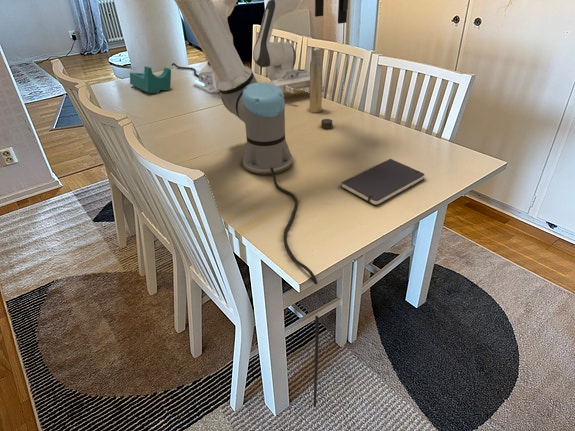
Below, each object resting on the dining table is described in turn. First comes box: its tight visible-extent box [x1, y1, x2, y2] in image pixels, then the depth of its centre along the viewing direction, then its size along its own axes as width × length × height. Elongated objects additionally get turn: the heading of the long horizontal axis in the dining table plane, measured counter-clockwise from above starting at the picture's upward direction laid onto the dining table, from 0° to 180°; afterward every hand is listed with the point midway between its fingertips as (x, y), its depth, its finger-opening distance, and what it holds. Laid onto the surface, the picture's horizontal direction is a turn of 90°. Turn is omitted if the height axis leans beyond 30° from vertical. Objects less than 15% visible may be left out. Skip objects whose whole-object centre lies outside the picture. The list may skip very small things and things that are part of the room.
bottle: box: [309, 47, 324, 114], centre depth 154 cm, size 5×5×23 cm
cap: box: [320, 118, 333, 130], centre depth 147 cm, size 4×4×2 cm
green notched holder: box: [129, 65, 172, 94], centre depth 185 cm, size 18×11×10 cm, turn 43°
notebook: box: [340, 158, 425, 206], centre depth 114 cm, size 13×2×21 cm
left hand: (304, 88), depth 164 cm, fingers open, 8 cm apart
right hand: (330, 19), depth 127 cm, fingers open, 13 cm apart
